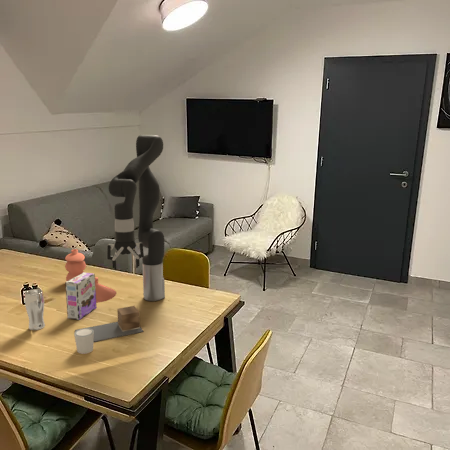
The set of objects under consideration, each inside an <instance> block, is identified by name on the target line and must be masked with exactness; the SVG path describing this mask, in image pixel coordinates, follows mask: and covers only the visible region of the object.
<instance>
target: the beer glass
mask: <svg viewBox="0 0 450 450" xmlns="http://www.w3.org/2000/svg"><path fill="white" fill-rule="evenodd" d="M24 305H25V310H26V314H27V317H28V330H30V331H39V330H43V328H45V326H46V324H45V321H44V311H45V310H44V309H45V298H44V291H43V290H42V289H40V288H36V289H35V288H34V289H29V290H27V291H25V292H24Z"/></svg>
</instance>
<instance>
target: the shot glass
mask: <svg viewBox="0 0 450 450" xmlns="http://www.w3.org/2000/svg"><path fill="white" fill-rule="evenodd" d="M83 328H84V329H82V328H79V329H80V330H77V329H76V330H77V331H76V332H75V331H74V333H73V334H74V342H75V346H76V352H77V353H79V354H83V355H84V354H85V355H86V354H89V353H92V352H93V350H94V343H95V342H94V330H93V329H89V328H88V327H83Z"/></svg>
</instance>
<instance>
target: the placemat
mask: <svg viewBox="0 0 450 450" xmlns="http://www.w3.org/2000/svg"><path fill="white" fill-rule="evenodd" d="M84 328H85V327H82V328H77V329H74V333H75V332H76V331H77V330H80V329H84ZM87 328H89V329H93V330H94V342H93V343H98V342H100V341H101V342H102V341H105V340H110V339H116V338H120V337H121V338H122V337H126V336H130V335H134V334H139V333H144V330H143V328H142V327H141V326H140V328H138V329H133V330H128V331H124V332H123V331H122V330H121V328H120V327H119V325H118V321H115V322H114V321H113V322H109V323H104V324H99V325H94V326H88V327H87Z"/></svg>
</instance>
